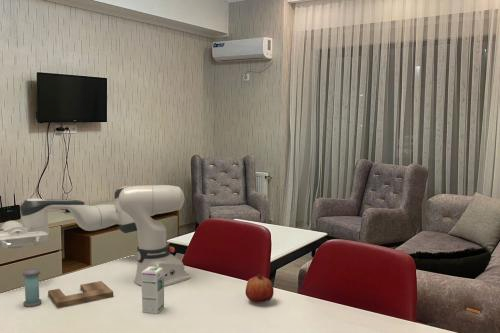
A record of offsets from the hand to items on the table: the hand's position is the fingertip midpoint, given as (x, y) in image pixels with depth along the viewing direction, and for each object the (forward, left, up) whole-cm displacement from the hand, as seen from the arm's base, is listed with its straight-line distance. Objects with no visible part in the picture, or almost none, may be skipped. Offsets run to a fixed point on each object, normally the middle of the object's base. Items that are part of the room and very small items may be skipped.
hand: (22, 244), depth 173 cm
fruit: (-68, +55, -19) cm, 90 cm away
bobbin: (0, +13, -19) cm, 23 cm away
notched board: (-16, +15, -19) cm, 29 cm away
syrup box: (-33, +41, -19) cm, 56 cm away
